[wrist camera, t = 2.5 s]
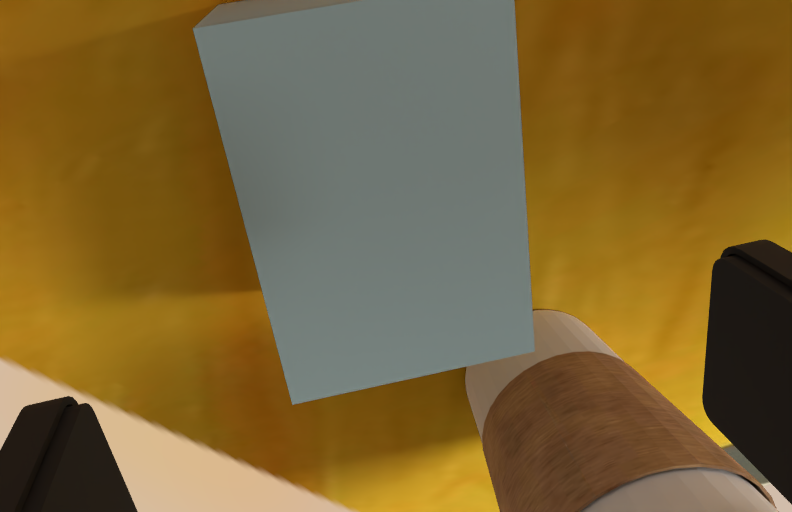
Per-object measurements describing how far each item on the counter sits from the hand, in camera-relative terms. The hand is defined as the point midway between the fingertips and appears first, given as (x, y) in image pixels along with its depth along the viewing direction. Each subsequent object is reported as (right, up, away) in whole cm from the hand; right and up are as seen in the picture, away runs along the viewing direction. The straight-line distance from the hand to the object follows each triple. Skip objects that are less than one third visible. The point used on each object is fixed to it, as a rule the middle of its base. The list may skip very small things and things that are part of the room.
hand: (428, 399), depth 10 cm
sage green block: (-2, +6, +13) cm, 14 cm away
